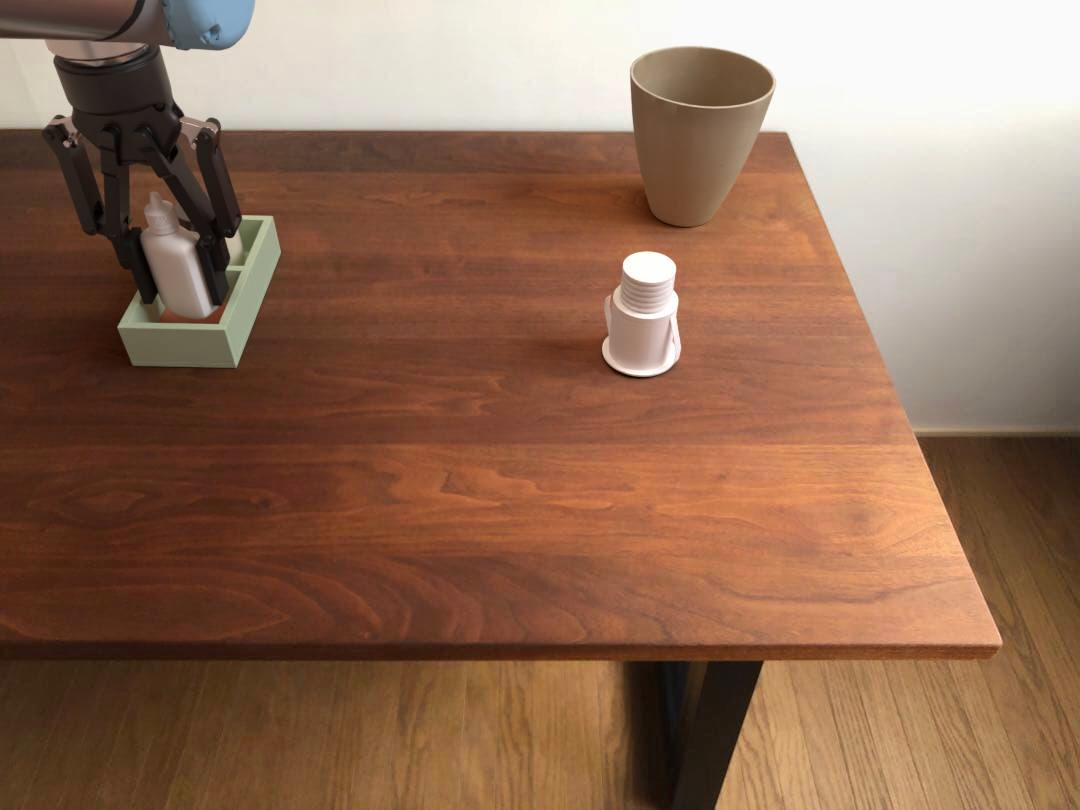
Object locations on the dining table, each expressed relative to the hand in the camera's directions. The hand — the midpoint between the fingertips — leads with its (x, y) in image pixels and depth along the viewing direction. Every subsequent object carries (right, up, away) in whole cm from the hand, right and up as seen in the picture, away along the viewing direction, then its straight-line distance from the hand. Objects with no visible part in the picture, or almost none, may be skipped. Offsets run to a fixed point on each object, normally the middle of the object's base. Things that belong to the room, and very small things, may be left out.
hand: (187, 295), depth 82 cm
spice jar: (0, +3, +9) cm, 10 cm away
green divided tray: (0, 0, +6) cm, 6 cm away
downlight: (+42, -5, +2) cm, 42 cm away
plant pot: (+49, +12, +20) cm, 54 cm away
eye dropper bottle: (0, -1, +1) cm, 2 cm away
